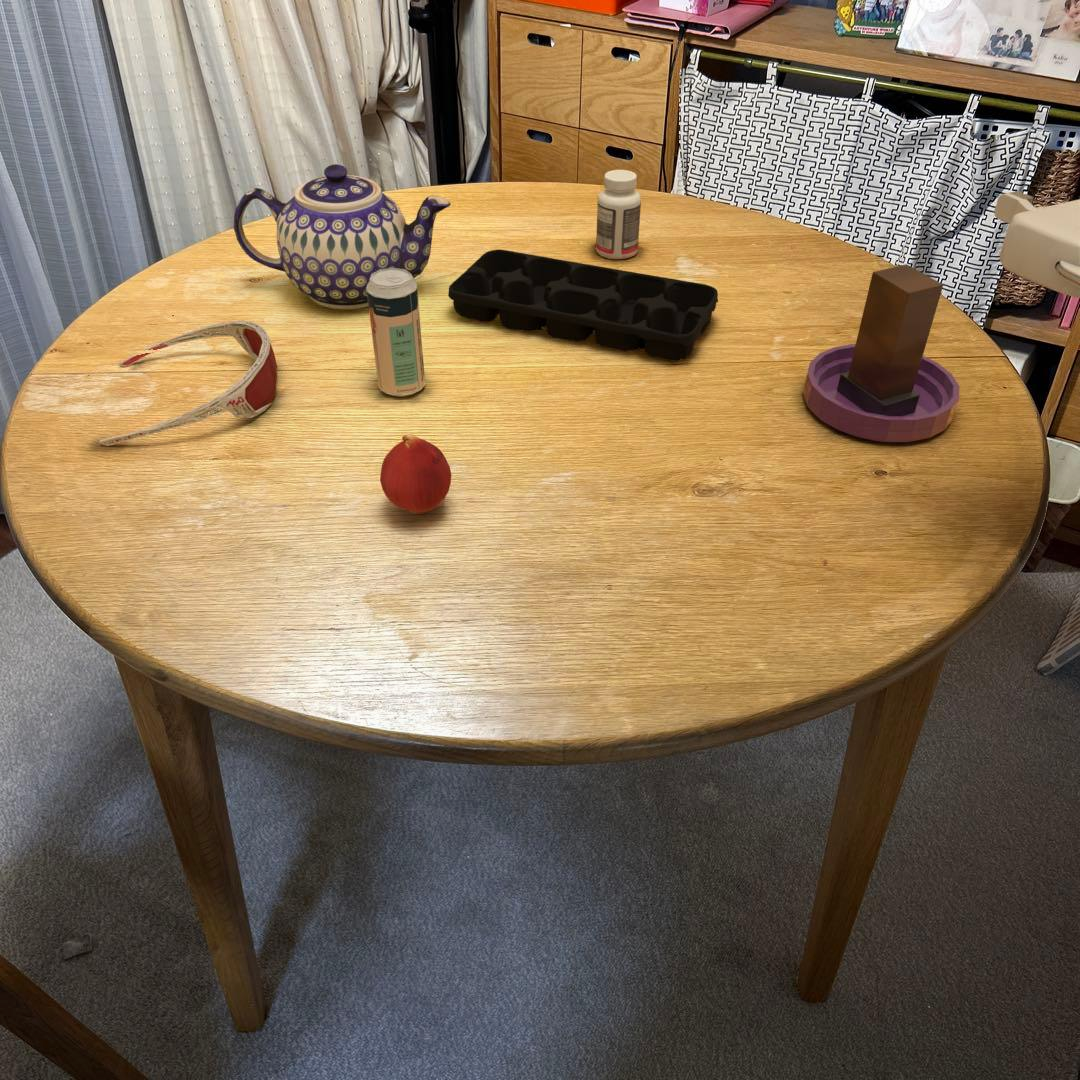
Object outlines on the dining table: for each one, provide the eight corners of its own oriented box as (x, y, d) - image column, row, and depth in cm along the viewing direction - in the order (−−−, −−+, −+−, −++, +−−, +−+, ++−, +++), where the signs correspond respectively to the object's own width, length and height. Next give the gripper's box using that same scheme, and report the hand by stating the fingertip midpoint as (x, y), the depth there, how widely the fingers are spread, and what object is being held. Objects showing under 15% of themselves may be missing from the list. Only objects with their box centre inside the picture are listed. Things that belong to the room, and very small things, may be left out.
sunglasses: (287, 429, 92) (268, 385, 88) (113, 476, 91) (87, 433, 88) (285, 342, 104) (269, 301, 101) (133, 382, 104) (111, 342, 100)
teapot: (228, 316, 110) (199, 186, 100) (267, 260, 121) (244, 139, 111) (445, 324, 108) (436, 194, 99) (464, 267, 120) (457, 145, 110)
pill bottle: (634, 242, 125) (639, 166, 119) (640, 260, 121) (646, 182, 115) (593, 243, 125) (596, 167, 119) (597, 261, 121) (601, 183, 115)
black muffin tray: (710, 369, 101) (715, 337, 98) (433, 343, 105) (431, 311, 102) (718, 295, 114) (722, 265, 111) (472, 274, 118) (470, 245, 116)
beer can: (400, 370, 101) (389, 261, 93) (435, 384, 98) (426, 274, 91) (368, 390, 98) (354, 279, 90) (403, 405, 95) (392, 292, 88)
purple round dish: (951, 382, 99) (959, 356, 97) (949, 458, 89) (959, 431, 87) (811, 359, 102) (816, 334, 100) (794, 430, 92) (799, 404, 90)
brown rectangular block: (915, 412, 94) (952, 287, 85) (879, 423, 92) (914, 297, 84) (870, 381, 98) (901, 259, 90) (836, 390, 97) (864, 268, 88)
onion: (424, 482, 86) (417, 406, 80) (467, 511, 83) (462, 433, 77) (372, 511, 83) (361, 433, 77) (414, 542, 79) (405, 463, 74)
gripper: (1087, 341, 61) (932, 257, 70) (1296, 280, 67) (1128, 211, 77) (1126, 246, 57) (956, 170, 66) (1344, 191, 63) (1161, 129, 73)
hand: (1050, 192), depth 72 cm, fingers open, 8 cm apart
